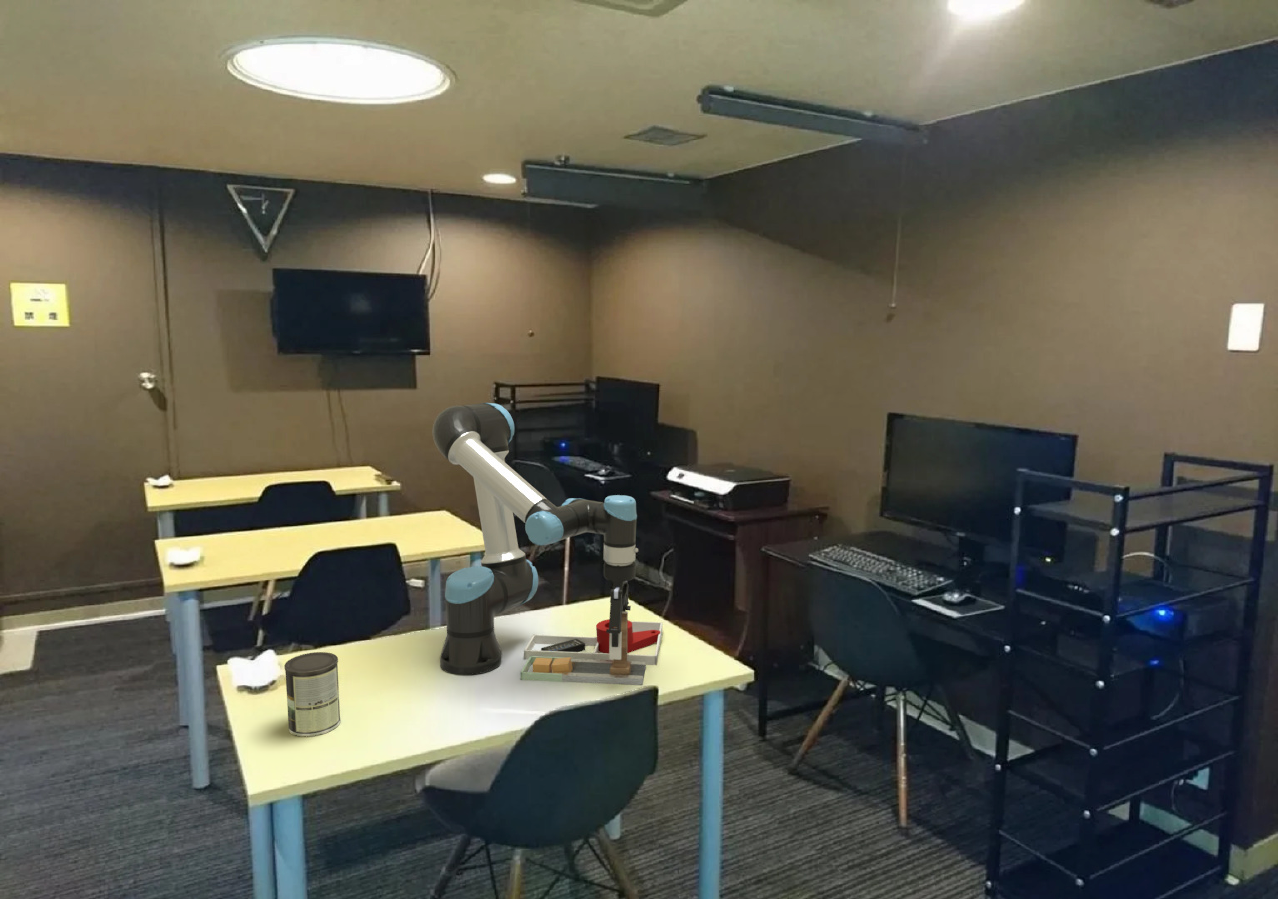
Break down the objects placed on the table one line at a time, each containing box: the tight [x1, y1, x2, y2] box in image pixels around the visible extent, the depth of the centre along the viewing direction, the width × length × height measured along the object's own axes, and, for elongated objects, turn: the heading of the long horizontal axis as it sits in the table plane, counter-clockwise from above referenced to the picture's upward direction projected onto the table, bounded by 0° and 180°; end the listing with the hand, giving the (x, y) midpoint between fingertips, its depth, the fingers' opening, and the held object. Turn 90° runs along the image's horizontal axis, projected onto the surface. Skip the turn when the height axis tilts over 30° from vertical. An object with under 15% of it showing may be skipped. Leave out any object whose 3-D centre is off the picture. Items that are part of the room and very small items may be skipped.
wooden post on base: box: [610, 612, 631, 675], centre depth 190 cm, size 4×4×15 cm
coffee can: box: [283, 651, 342, 738], centre depth 166 cm, size 10×10×14 cm
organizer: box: [523, 620, 663, 666], centre depth 211 cm, size 34×24×3 cm
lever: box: [595, 618, 660, 654], centre depth 209 cm, size 18×9×7 cm, turn 117°
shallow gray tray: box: [562, 659, 647, 686], centre depth 191 cm, size 19×10×2 cm, turn 85°
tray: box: [519, 656, 564, 682], centre depth 193 cm, size 10×10×2 cm
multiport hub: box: [540, 639, 586, 652], centre depth 205 cm, size 4×11×2 cm, turn 128°
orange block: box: [551, 657, 573, 674], centre depth 192 cm, size 4×4×3 cm
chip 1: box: [532, 658, 553, 673], centre depth 193 cm, size 4×4×3 cm
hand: (618, 647), depth 190 cm, fingers open, 13 cm apart
